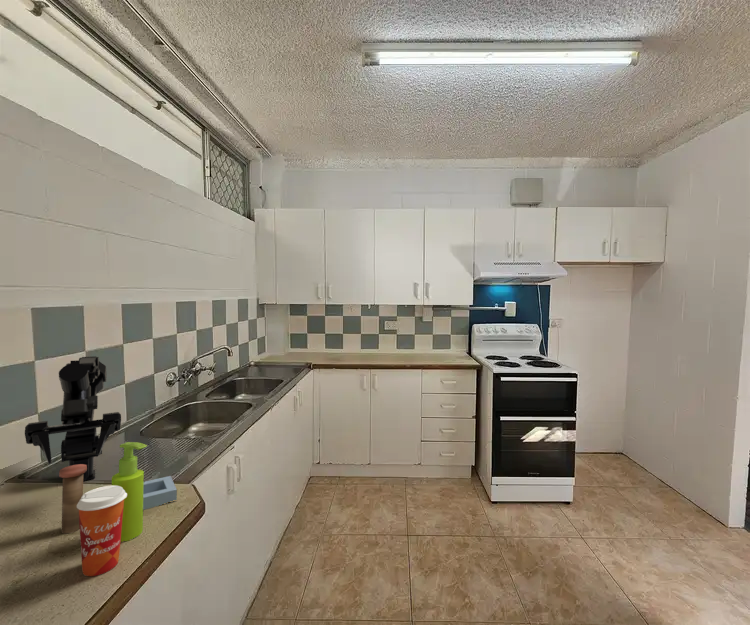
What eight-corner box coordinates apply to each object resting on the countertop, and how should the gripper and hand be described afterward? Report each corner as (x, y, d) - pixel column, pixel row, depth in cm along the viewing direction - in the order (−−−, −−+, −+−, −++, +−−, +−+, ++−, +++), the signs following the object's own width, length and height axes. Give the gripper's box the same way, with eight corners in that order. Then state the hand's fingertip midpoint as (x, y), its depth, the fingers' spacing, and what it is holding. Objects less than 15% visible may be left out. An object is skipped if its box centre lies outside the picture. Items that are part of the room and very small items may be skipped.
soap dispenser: (130, 544, 77) (132, 449, 78) (103, 540, 79) (105, 446, 79) (152, 529, 83) (154, 440, 83) (127, 525, 85) (128, 437, 85)
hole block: (127, 496, 97) (127, 485, 98) (170, 486, 104) (170, 475, 104) (130, 513, 90) (130, 500, 90) (176, 501, 96) (176, 489, 96)
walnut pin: (58, 527, 83) (60, 467, 83) (85, 520, 86) (86, 462, 86) (57, 537, 79) (58, 475, 80) (85, 530, 82) (86, 469, 83)
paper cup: (70, 585, 66) (71, 507, 66) (80, 560, 72) (82, 488, 73) (123, 572, 69) (124, 497, 69) (128, 549, 76) (129, 481, 76)
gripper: (26, 390, 88) (18, 451, 79) (121, 382, 99) (123, 435, 90) (30, 414, 94) (23, 473, 85) (119, 404, 105) (120, 455, 97)
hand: (74, 458), depth 89 cm, fingers open, 9 cm apart
